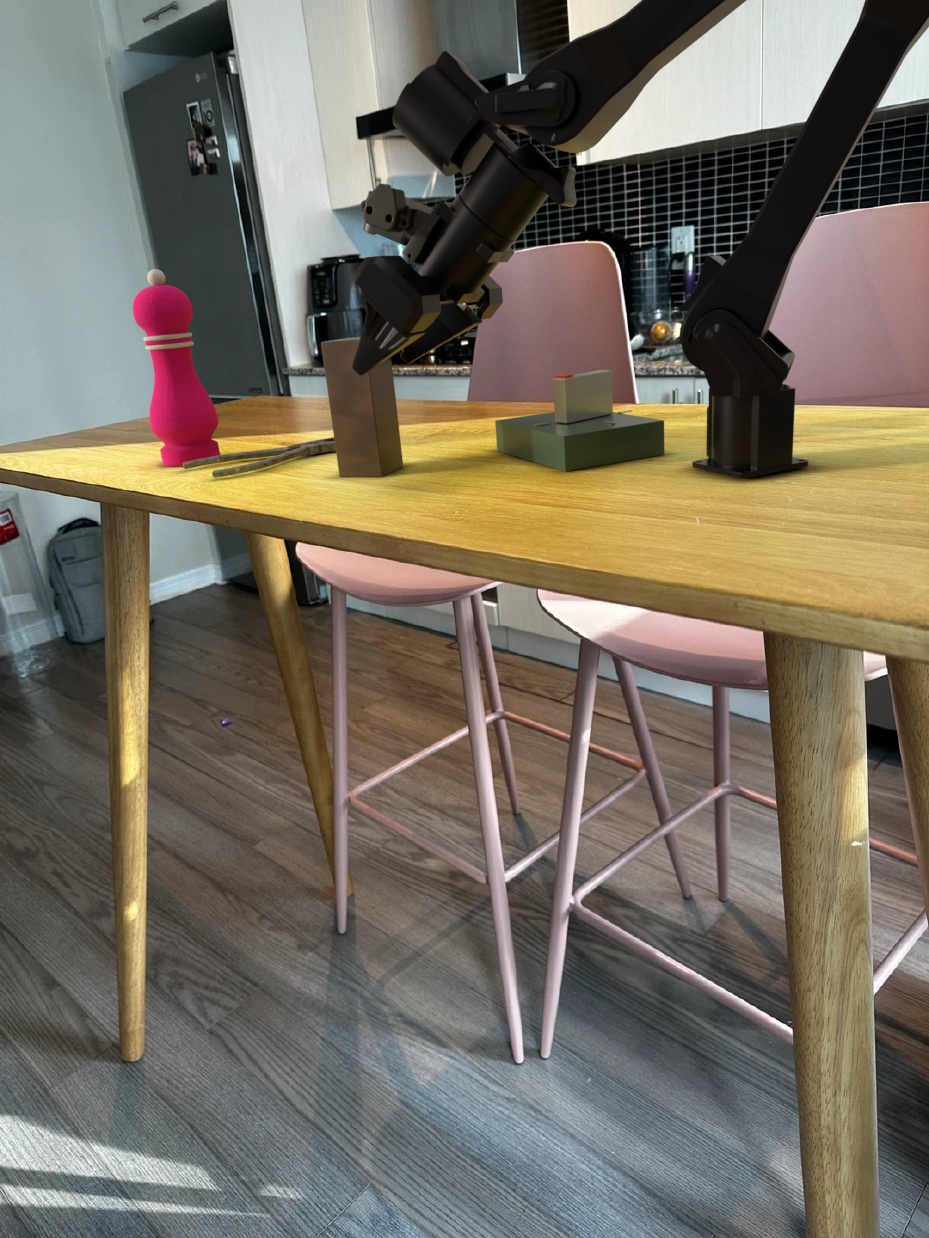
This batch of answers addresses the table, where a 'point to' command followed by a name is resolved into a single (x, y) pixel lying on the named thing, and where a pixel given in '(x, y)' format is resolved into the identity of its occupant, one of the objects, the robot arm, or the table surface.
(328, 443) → the forked twig
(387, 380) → the walnut block
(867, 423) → the table surface
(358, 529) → the table surface
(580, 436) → the dark green flat block
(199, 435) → the pepper mill
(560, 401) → the grey slab
